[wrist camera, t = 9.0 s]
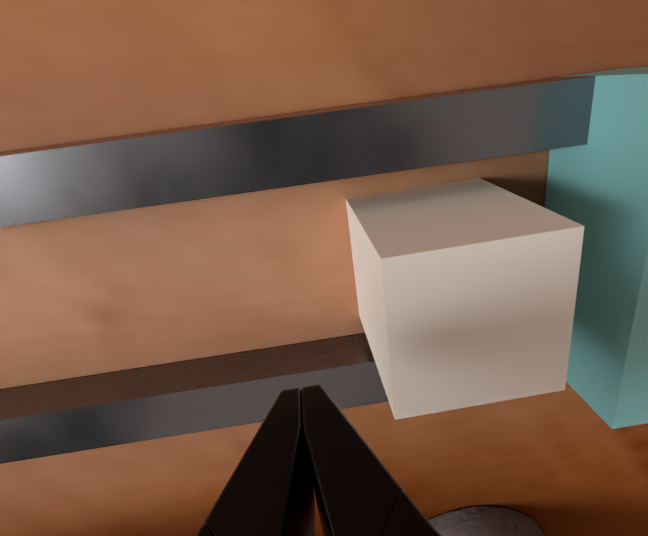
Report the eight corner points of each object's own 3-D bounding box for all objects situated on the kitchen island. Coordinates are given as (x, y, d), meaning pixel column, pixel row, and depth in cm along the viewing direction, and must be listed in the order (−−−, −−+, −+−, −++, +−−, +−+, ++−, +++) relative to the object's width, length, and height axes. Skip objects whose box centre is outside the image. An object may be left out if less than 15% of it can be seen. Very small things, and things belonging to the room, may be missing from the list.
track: (586, 337, 19) (682, 417, 14) (-65, 440, 18) (-184, 561, 13) (626, 67, 15) (784, 59, 10) (-233, 183, 14) (-493, 232, 9)
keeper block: (476, 295, 18) (564, 390, 12) (359, 315, 18) (394, 419, 12) (478, 177, 16) (584, 226, 10) (345, 198, 16) (381, 258, 10)
